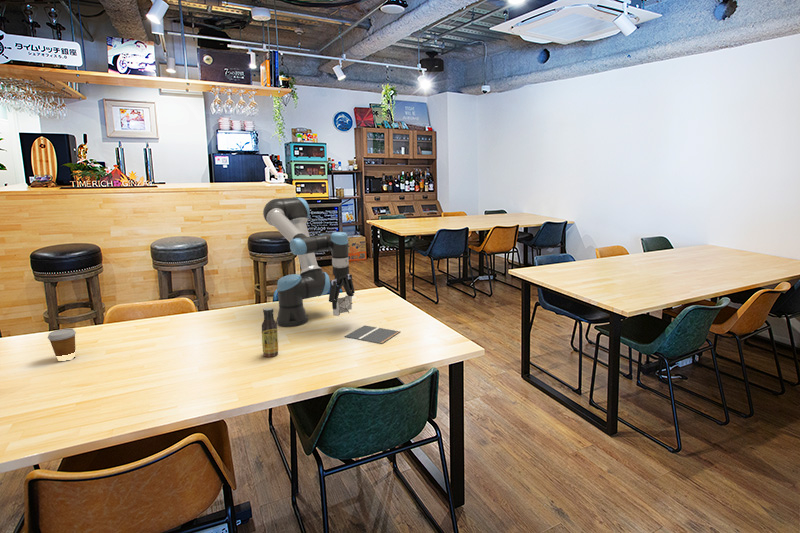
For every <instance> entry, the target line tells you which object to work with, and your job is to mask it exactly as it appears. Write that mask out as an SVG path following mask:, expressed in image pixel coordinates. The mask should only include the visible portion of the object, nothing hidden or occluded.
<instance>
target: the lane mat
mask: <svg viewBox="0 0 800 533" xmlns="http://www.w3.org/2000/svg"><path fill="white" fill-rule="evenodd" d="M401 332H402V331H399V330H394V329H388V328H383V327H382V328H381V327H377V326H376V327H375V326H371V325H363V326H361V327H359V328H357V329H355V330H353V331H352V332H350V333H348V334H346V335H344V338H347V339H354V340H358V341H363V342H368V343H374V344H379V345H383V344H384V343H387V342H388V341H389V340H391V339H393V338H394V337H396V336H397V335H399V334H400V333H401Z"/></svg>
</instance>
